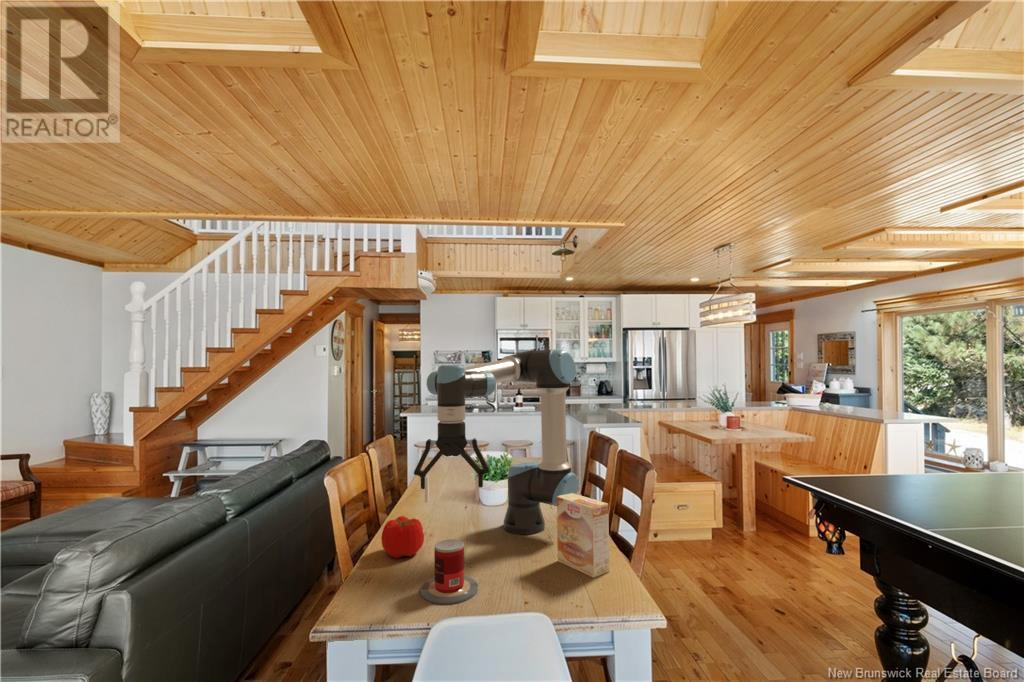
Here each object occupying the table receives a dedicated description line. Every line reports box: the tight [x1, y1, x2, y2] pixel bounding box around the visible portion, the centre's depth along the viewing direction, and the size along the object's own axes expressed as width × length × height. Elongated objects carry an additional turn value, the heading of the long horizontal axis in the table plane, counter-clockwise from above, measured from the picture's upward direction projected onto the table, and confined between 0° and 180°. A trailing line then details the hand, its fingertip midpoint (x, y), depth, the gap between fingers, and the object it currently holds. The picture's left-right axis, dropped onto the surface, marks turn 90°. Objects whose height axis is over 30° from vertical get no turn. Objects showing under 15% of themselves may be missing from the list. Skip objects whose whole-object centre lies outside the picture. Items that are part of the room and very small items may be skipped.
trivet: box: [420, 575, 479, 605], centre depth 127 cm, size 15×15×1 cm
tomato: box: [380, 515, 425, 559], centre depth 153 cm, size 14×13×10 cm
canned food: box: [433, 538, 465, 593], centre depth 128 cm, size 8×8×11 cm
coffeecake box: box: [556, 493, 610, 579], centre depth 142 cm, size 15×7×20 cm, turn 37°
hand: (452, 500), depth 131 cm, fingers open, 13 cm apart
